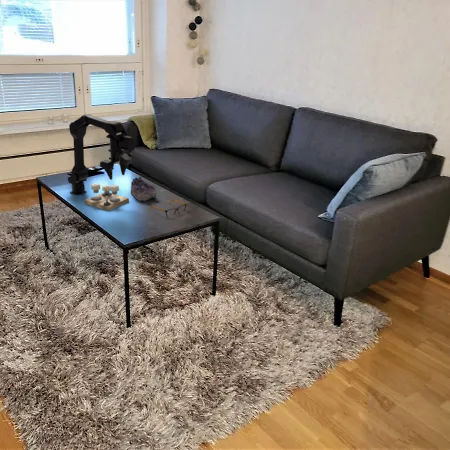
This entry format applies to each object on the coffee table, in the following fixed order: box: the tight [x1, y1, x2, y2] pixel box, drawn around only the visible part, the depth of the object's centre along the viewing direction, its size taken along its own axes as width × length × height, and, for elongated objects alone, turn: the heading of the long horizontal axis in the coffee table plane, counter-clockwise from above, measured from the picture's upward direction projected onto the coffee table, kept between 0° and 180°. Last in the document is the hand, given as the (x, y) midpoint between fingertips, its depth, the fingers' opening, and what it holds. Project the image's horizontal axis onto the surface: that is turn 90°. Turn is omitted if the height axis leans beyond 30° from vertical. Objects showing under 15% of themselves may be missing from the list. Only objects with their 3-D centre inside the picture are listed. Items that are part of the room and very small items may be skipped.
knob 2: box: [101, 184, 111, 194], centre depth 246 cm, size 5×5×4 cm
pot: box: [104, 197, 111, 206], centre depth 233 cm, size 2×2×4 cm
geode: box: [130, 176, 157, 202], centre depth 252 cm, size 20×12×10 cm, turn 36°
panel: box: [84, 191, 130, 211], centre depth 241 cm, size 16×16×2 cm
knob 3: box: [109, 184, 120, 195], centre depth 237 cm, size 5×5×4 cm
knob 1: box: [90, 183, 101, 194], centre depth 238 cm, size 5×5×4 cm
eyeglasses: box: [148, 199, 187, 217], centre depth 237 cm, size 14×14×4 cm
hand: (117, 177), depth 235 cm, fingers open, 9 cm apart
